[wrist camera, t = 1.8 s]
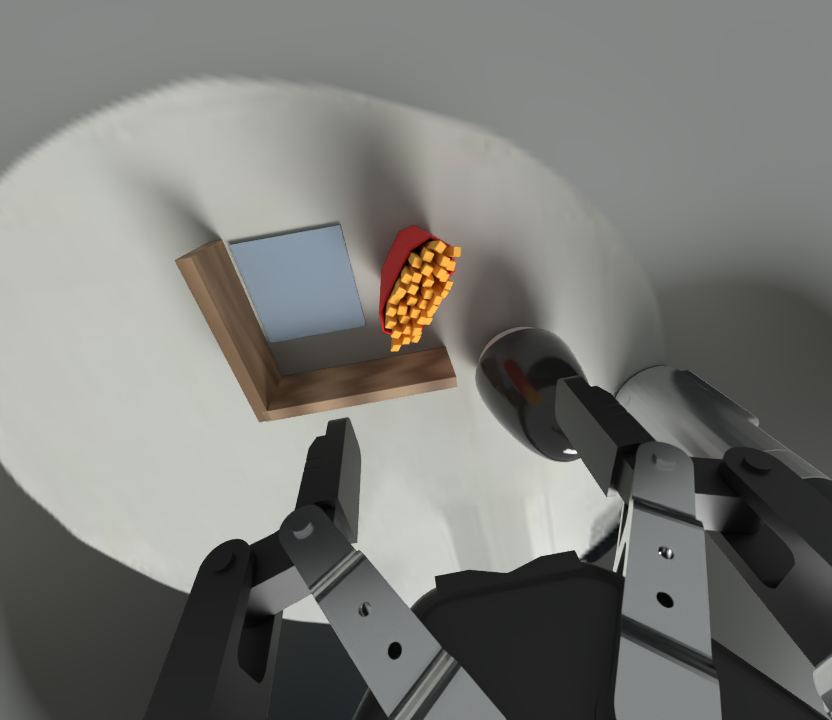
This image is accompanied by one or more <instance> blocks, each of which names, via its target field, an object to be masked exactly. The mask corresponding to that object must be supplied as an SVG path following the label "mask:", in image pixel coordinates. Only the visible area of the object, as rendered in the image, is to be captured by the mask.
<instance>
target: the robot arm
mask: <svg viewBox="0 0 832 720" xmlns="http://www.w3.org/2000/svg"><path fill="white" fill-rule="evenodd" d="M555 416H556V420H557V422H558V425H559V426H560V428H561V429H562V431H563V432H564V434H565V435H566V437H567V438H568V440H569V441H570V443H571V444H572V446H573V447H574V449H575V450H576V452H577V453H578V455H579V456H580V458H581V459H582V461H583V462H584V464H585V465H586V467H587V468H588V470H589V471H590V473H591V474H592V476H593V477H594V479H595V480H596V482H597V483H598V485H599V486H600V488H601V489H602V491H603V492H604V494H605V495H606V497H610V496H616V495H620V496H621V498H622V499H623V501H624V503H623V507H622V514H621V522H620V529H619V536H618V544H617V551H616V558H615V563H614V568H613V571H611V570H609V569H607V568H604V567H602V566H599V565H595V564H592V563H587V562H580V560H579V558H578V556H577V554H576V552H575V550H573V551H567V552H562V553H557V554H551V555H546V556H541V557H539V558H537V559H535V560H533V561H531V562H529V563H527V564H525V565H523V566H521V567H519V568H517V569H515V570H513V571H511V572H509V573H499V572H487V571H476V570H466V571H461V572H455V573H450V574H444V575H439V576H435V581H436V588H434V589H432V590H430V591H429V592H427V593H426V594H425V595H423V596H422V597H421V598H420V599H419V600H417V601H416V602H415V603H414V605H413V606H412V607H411V608H410V609H409V607H408V606H407V605H406V604H405V603H404V601H403V600H402V599H401V598H400V597H399V595H398V594H397V593H396V592H395V591H394V589H393V588H392V587H391V586H390V585H389V583H388V582H387V581H386V580H385V579H384V578H383V576H382V575H381V574H380V573H379V572H378V570H377V569H376V568H375V567H374V566H373V564H372V563H371V562H370V561H369V560H368V558H367V557H366V556H365V555H364V554H363V553H362V552H361V551H360V550H358V551H356V550H355V549H354V547H353V546H352V545H351V544H352V543H357V535H358V515H359V494H360V474H361V454H360V448H359V445H358V442H357V439H356V436H355V433H354V430H353V427H352V424H351V421H350V419H349V418H348V417H347V418H342V419H336V420H331V421H329V422H328V425H327V430H326V435H325V436H319V437H316V439H315V440H314V442H313V443H312V444H311V446H310V447H309V450H308V454H307V459H306V461H307V462H306V463H305V467H304V472H303V476H302V481H301V485H300V489H299V494H298V498H297V503H296V507H295V510H294V511H293V512H291V513H290V514H289V515H288V516H287V517H286V518H285V520H284V521H283V522H282V524H281V526H280V529H279V530H278V531H277V532H275V533H273V534H272V535H270V536H268V537H266V538H263V539H261V540H259V541H257V542H255V543H253V544H251V545H248V543H247V542H246V541H244V540H241V539H233V540H229V541H226V542H224V543H222V544H220V545H219V546H217V547H216V548H215V549H214V550H212V551H211V552H210V553H209V554H208V555H207V557H206V558H205V559H204V561H203V562H202V564H201V566H200V568H199V571H198V573H197V576H196V579H195V581H194V584H193V587H192V589H191V592H190V595H189V598H188V600H187V603H186V606H185V609H184V611H183V614H182V616H181V619H180V622H179V625H178V627H177V630H176V633H175V635H174V638H173V641H172V643H171V646H170V649H169V651H168V654H167V657H166V660H165V662H164V665H163V668H162V670H161V673H160V676H159V679H158V681H157V684H156V687H155V689H154V692H153V695H152V697H151V700H150V703H149V705H148V708H147V711H146V714H145V716H144V719H143V720H267V713H268V707H269V701H270V694H271V687H272V680H273V674H274V667H275V661H276V654H277V647H278V641H279V634H280V628H281V622H282V615H283V609H285V608H287V607H289V606H290V605H292V604H294V603H296V602H298V601H299V600H301V599H303V598H305V597H306V596H308V595H310V594H312V595H313V597H314V598H315V600H316V602H317V603H318V605H319V606H320V608H321V610H322V611H323V613H324V615H325V616H326V618H327V619H328V621H329V623H330V624H331V626H332V628H333V629H334V630H335V632H336V634H337V635H338V637H339V639H340V640H341V642H342V644H343V645H344V647H345V649H346V650H347V652H348V653H349V655H350V657H351V658H352V660H353V661H354V663H355V665H356V666H357V668H358V670H359V671H360V673H361V674H362V676H363V677H364V679H365V681H366V683H367V684H368V686H369V687H368V689H367V691H366V693H365V695H364V697H363V699H362V701H361V703H360V705H359V707H358V709H357V711H356V713H355V715H354V717H353V719H352V720H829V719H828V718H826V717H825V716H824V715H822V714H821V713H819V712H818V711H816V710H815V709H814V708H812V707H811V706H809V705H808V704H806V703H805V702H804V701H802V700H801V699H799V698H798V697H796V696H795V695H794V694H792V693H791V692H789V691H787V690H786V689H785V688H783V687H782V686H780V685H779V684H778V683H776V682H775V681H773V680H772V679H770V678H769V677H768V676H766V675H765V674H763V673H762V672H760V671H759V670H757V669H756V668H755V667H753V666H752V665H750V664H749V663H747V662H746V661H744V660H743V659H742V658H740V657H738V656H737V655H736V654H734V653H733V652H731V651H730V650H729V649H727V648H726V647H724V646H723V645H721V644H720V643H718V642H717V641H716V640H714V639H713V638H711V636H710V620H709V603H708V587H707V571H706V554H705V538H704V530H706V531H707V533H708V534H709V535H710V536H711V538H712V539H713V540H714V542H715V543H716V544H717V545H718V547H719V548H720V549H721V550H722V552H723V553H724V554H725V555H726V557H727V558H728V559H729V560H730V562H731V563H732V564H733V565H734V567H735V568H736V569H737V570H738V572H739V573H740V574H741V575H742V577H743V578H744V579H745V580H746V582H747V583H748V584H749V586H750V587H751V588H752V589H753V591H754V592H755V593H756V594H757V595H758V597H759V598H760V599H761V601H762V602H763V603H764V604H765V605H766V607H767V608H768V609H769V611H770V612H771V613H772V614H773V616H774V617H775V618H776V619H777V621H778V622H779V623H780V624H781V626H782V627H783V628H784V629H785V631H786V632H787V633H788V634H789V636H790V637H791V638H792V639H793V641H794V642H795V643H796V644H797V645H798V647H799V648H800V649H801V651H802V652H803V653H804V654H805V655H806V657H807V658H808V659H809V660H810V662H811V663H812V664H813V666H814V667H815V669H814V673H813V678H814V683H815V686H816V689H817V691H818V693H819V695H820V697H821V699H822V700H823V702H824V704H823V705H824V709H825V711H826V713H827V715H828V716H829V717H830V719H831V720H832V480H831V479H829V478H828V477H826V476H825V475H824V474H822V473H821V472H820V471H818V470H817V469H815V468H814V467H813V466H811V465H810V464H808V463H807V462H805V461H804V460H803V459H802V458H800V457H799V456H797V455H796V454H795V453H793V452H792V451H790V450H788V449H787V448H786V447H784V446H783V445H782V444H780V443H779V442H778V441H776V440H775V439H773V438H772V437H771V436H769V435H768V434H766V433H765V432H764V431H763V430H761V429H760V428H758V427H757V426H758V424H759V420H758V419H757V418H756V417H755V416H754V415H752V414H751V413H749V412H748V411H746V410H745V409H744V408H742V407H741V406H739V405H738V404H736V403H735V402H734V401H732V400H731V399H729V398H728V397H726V396H725V395H724V394H722V393H721V392H719V391H718V390H716V389H715V388H713V387H712V386H711V385H709V384H708V383H706V382H705V381H703V380H702V379H701V378H699V377H698V376H696V375H695V374H693V373H692V372H691V371H689V370H686V371H680V370H678V369H676V368H674V367H670V366H657V367H652V368H649V369H646V370H644V371H642V372H640V373H638V374H636V375H635V376H633V377H632V378H631V379H629V380H628V381H627V382H626V383H625V384H624V385H623V386H622V388H621V389H620V390H619V392H618V394H617V396H616V398H614V397H613V395H612V394H611V393H609V392H607V391H605V390H603V389H602V388H600V387H598V386H593V387H591V386H590V385H589V384H588V383H587V382H586V381H585V380H584V379H583V378H582V377H581V376H579V375H578V376H572V377H567V378H561V379H558V381H557V387H556V401H555Z"/></svg>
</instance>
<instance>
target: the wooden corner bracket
mask: <svg viewBox="0 0 832 720" xmlns="http://www.w3.org/2000/svg"><path fill="white" fill-rule="evenodd" d="M175 262H176V264H177V266H178V268H179V270H180V271H181V273H182V275H183V277H184V279H185V281H186V283H187V285H188V287H189V289H190V291H191V293H192V294H193V296H194V298H195V300H196V302H197V304H198V306H199V308H200V310H201V312H202V314H203V316H204V317H205V319H206V321H207V323H208V325H209V327H210V329H211V331H212V333H213V335H214V337H215V339H216V340H217V342H218V344H219V346H220V348H221V350H222V352H223V354H224V356H225V358H226V360H227V361H228V363H229V365H230V367H231V369H232V371H233V373H234V375H235V377H236V379H237V381H238V383H239V384H240V386H241V388H242V390H243V392H244V394H245V396H246V398H247V400H248V402H249V404H250V406H251V407H252V409H253V411H254V413H255V415H256V417H257V419H258V421H259V422H263V421H267V422H268V421H273V420H279V419H284V418H290V417H295V416H301V415H306V414H312V413H317V412H323V411H328V410H333V409H339V408H344V407H350V406H355V405H361V404H366V403H372V402H377V401H383V400H388V399H394V398H399V397H405V396H410V395H415V394H421V393H426V392H432V391H437V390H443V389H448V388H454V387H457V380H456V375H455V372H454V369H453V366H452V364H451V361H450V358H449V355H448V352H447V350H446V347H443V348H437V349H432V350H426V351H421V352H415V353H410V354H404V355H399V356H393V357H388V358H382V359H377V360H372V361H366V362H361V363H355V364H350V365H344V366H339V367H333V368H328V369H322V370H317V371H311V372H306V373H300V374H295V375H289V376H284V377H282V376H281V374H280V372H279V369H278V367H277V365H276V362H275V360H274V358H273V356H272V353H271V351H270V349H269V346H268V344H267V342H266V340H265V337H264V335H263V333H262V330H261V328H260V326H259V323H258V321H257V319H256V317H255V314H254V312H253V310H252V307H251V305H250V303H249V301H248V298H247V296H246V294H245V291H244V289H243V287H242V285H241V282H240V280H239V278H238V275H237V273H236V271H235V268H234V266H233V264H232V262H231V259H230V257H229V255H228V252H227V250H226V248H225V246H224V243H223V241H222V240H218V241H213V242H208V243H206V244H204V245H203V246H201V247H199V248H197V249H195V250H193V251H191V252H189V253H187V254H186V255H184V256H182V257H180V258H178V259H176V260H175Z"/></svg>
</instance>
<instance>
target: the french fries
mask: <svg viewBox="0 0 832 720" xmlns="http://www.w3.org/2000/svg"><path fill="white" fill-rule="evenodd" d="M460 256H461V247H452V246H450V245H449V244H447V243H445V242H444V241H442V240H440V239H439V238H437V237H435V236H433V235H432V234H430V233H428V232H426V231H424V230H422V229H420V228H418V227H416V226H414V225H412V226H410V227H408V228H406V229H404V230H402V231H400V232H399V233H398V235H397V237H396V239H395V241H394V243H393V245H392V247H391V249H390V252H389V254H388V256H387V259H386V261H385V263H384V266H383V268H382V271H381V287H380V306H379V314H380V320H381V325H382V331H383V332H384V333H387V334H389V335H391V337H392V341H391V351H399V349H400V347H401V340H402V344H409V343H410V341H411V342H415V343H417V342H418V341H419V339H420V337H421V334H422V330H423V327H424V324H426V325H430V323H431V321H432V320H433V317H432V316H433V314H434V313H435V312H436V310H437V309H438V305H440V303H441V301H442V298H444V299H445V297H446V296H447V294H448V293H449V291H448V290H450V289H451V287H452V285H453V282H452V281H451V280H449V279H448V278H449V277H450V276H451V275H452V274H453V273H454V272H455V264H456V262H455V260H454V257H460Z"/></svg>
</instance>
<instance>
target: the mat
mask: <svg viewBox="0 0 832 720" xmlns="http://www.w3.org/2000/svg"><path fill="white" fill-rule="evenodd" d="M229 247H230V249H231V252H232V254H233V256H234V259H235V261H236V263H237V266H238V268H239V270H240V273H241V275H242V277H243V280H244V282H245V284H246V287H247V289H248V291H249V294H250V296H251V298H252V301H253V303H254V305H255V307H256V310H257V312H258V314H259V317H260V319H261V321H262V324H263V326H264V328H265V331H266V333H267V335H268V338H269V340H270V342H271V343H274V342H279V341H285V340H290V339H296V338H301V337H307V336H312V335H318V334H323V333H329V332H334V331H340V330H345V329H351V328H356V327H362V326H366V323H365V319H364V315H363V312H362V308H361V304H360V300H359V296H358V292H357V288H356V284H355V280H354V276H353V272H352V268H351V264H350V261H349V257H348V253H347V249H346V245H345V241H344V237H343V233H342V229H341V225H335V226H330V227H324V228H319V229H313V230H308V231H302V232H297V233H291V234H286V235H280V236H275V237H269V238H264V239H258V240H252V241H247V242H241V243H236V244H230V245H229Z"/></svg>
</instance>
